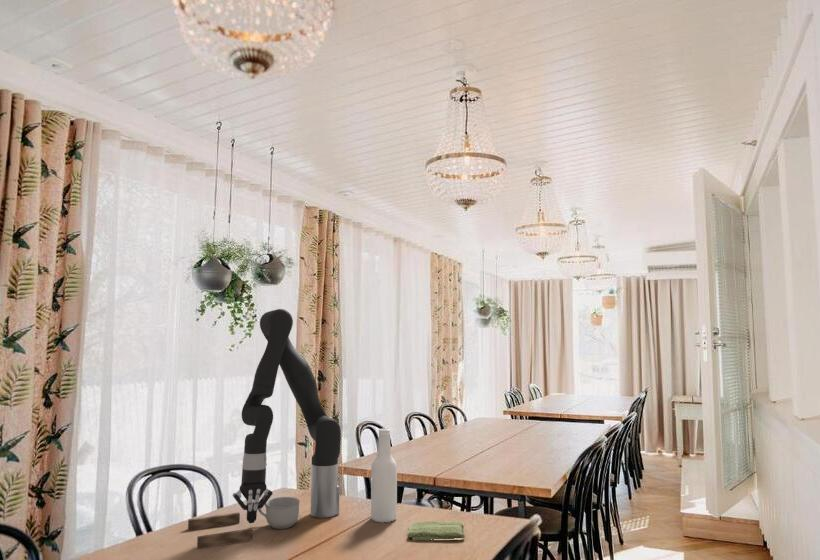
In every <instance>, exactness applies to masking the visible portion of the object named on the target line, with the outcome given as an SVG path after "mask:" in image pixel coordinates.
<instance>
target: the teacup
mask: <svg viewBox="0 0 820 560" xmlns="http://www.w3.org/2000/svg"><path fill="white" fill-rule="evenodd" d="M264 506H265V511H264V510H263V509H262V508H263V507H262V508H259V509H258V510H257V512H259V514H260V515H262V516H263V517H264V518H265V520H266V523H267V524H268V525H269V526H271V528H273V529H275V530H284V529H289V528H291V527H293V526H294V524H296V523H297V521H298V519H299V514H300V499H298V498H297V497H293V496H278V497H273V498H269V499H268V501H267V502H266V503H265V505H264Z"/></svg>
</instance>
